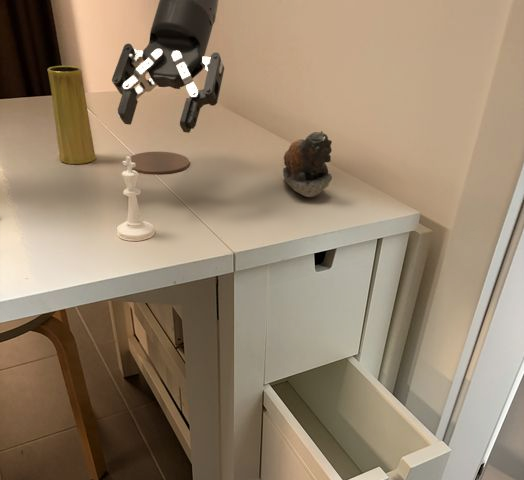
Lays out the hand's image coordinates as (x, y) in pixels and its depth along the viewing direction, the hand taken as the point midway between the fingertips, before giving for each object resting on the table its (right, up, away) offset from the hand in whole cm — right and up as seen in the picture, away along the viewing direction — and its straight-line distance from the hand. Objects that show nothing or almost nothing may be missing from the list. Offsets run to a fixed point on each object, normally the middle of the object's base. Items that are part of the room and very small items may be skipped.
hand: (154, 125), depth 72 cm
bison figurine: (+21, -4, +17) cm, 27 cm away
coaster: (-4, +3, +24) cm, 25 cm away
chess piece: (-3, -14, +1) cm, 14 cm away
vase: (-18, +4, +24) cm, 31 cm away
